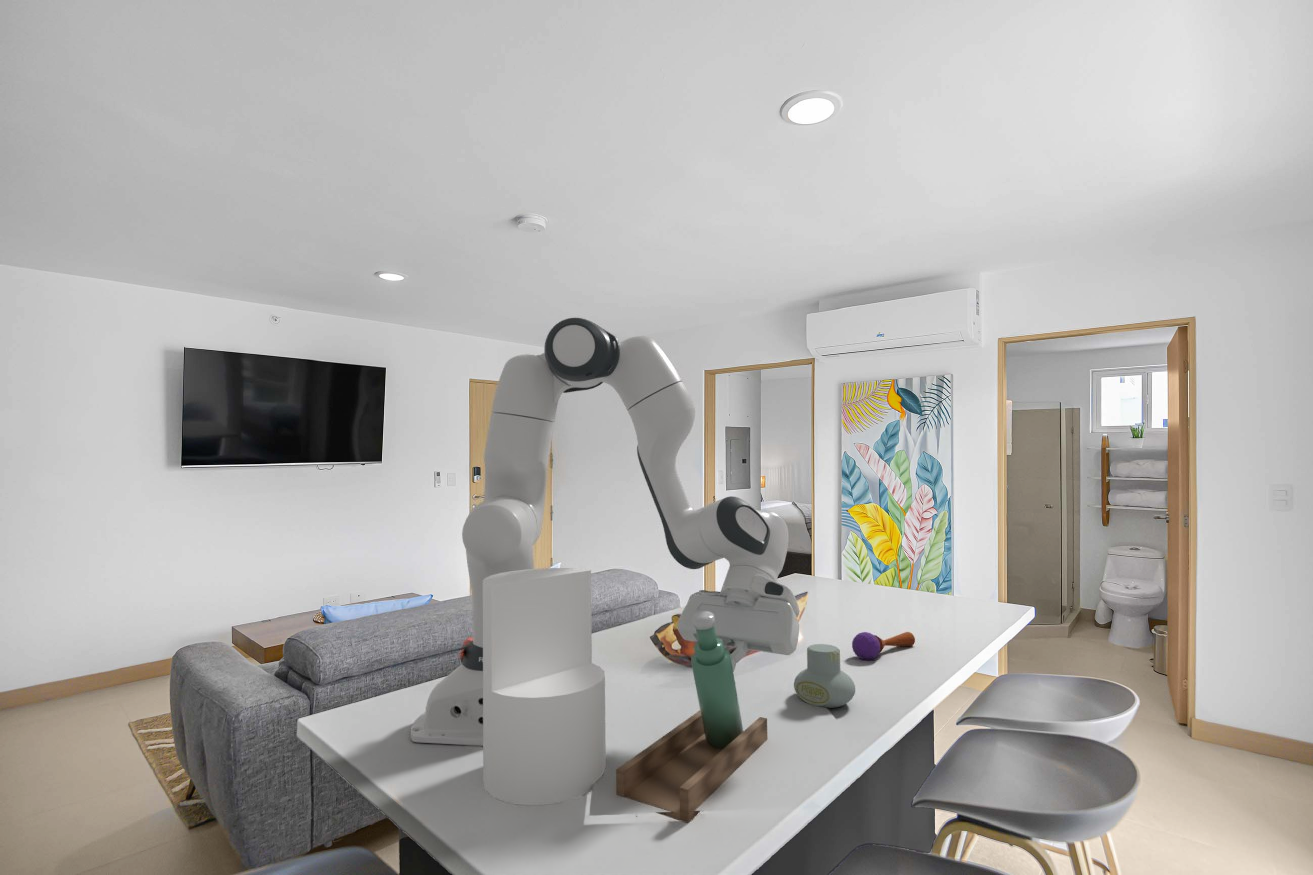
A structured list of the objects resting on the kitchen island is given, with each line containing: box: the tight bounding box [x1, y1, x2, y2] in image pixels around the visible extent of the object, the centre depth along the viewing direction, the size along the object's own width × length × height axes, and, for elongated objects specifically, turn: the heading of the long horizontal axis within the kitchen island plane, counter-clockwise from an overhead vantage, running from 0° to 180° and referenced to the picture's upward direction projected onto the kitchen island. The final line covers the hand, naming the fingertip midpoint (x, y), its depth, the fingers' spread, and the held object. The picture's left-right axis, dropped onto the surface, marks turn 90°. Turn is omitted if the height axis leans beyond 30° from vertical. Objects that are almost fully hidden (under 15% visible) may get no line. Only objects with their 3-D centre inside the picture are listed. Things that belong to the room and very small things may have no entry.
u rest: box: [615, 710, 768, 824], centre depth 95 cm, size 26×11×4 cm, turn 149°
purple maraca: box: [851, 631, 916, 661], centre depth 152 cm, size 6×6×20 cm
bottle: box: [690, 611, 744, 749], centre depth 100 cm, size 6×6×21 cm
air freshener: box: [793, 643, 856, 709], centre depth 121 cm, size 11×8×10 cm
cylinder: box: [482, 567, 607, 806], centre depth 95 cm, size 17×17×28 cm
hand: (723, 668), depth 103 cm, fingers closed
